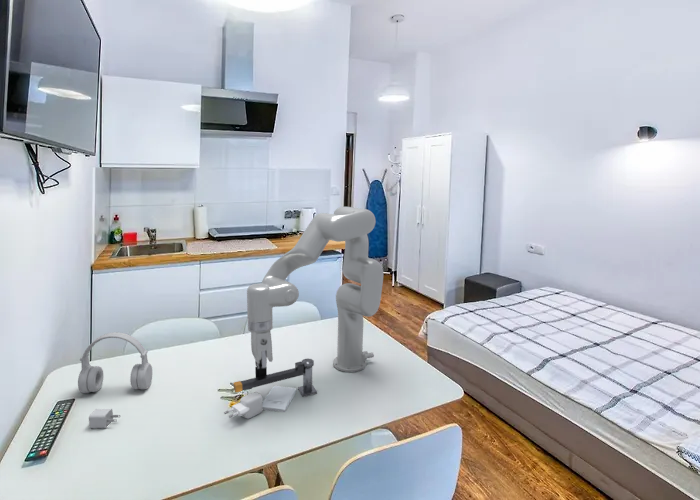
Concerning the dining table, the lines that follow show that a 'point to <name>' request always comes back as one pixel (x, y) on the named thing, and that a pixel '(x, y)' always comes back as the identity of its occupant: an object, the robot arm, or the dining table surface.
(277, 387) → the external hard drive
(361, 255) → the robot arm
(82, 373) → the headphones
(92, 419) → the usb wall charger
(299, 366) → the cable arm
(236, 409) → the power adapter
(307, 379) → the post
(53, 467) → the dining table surface
